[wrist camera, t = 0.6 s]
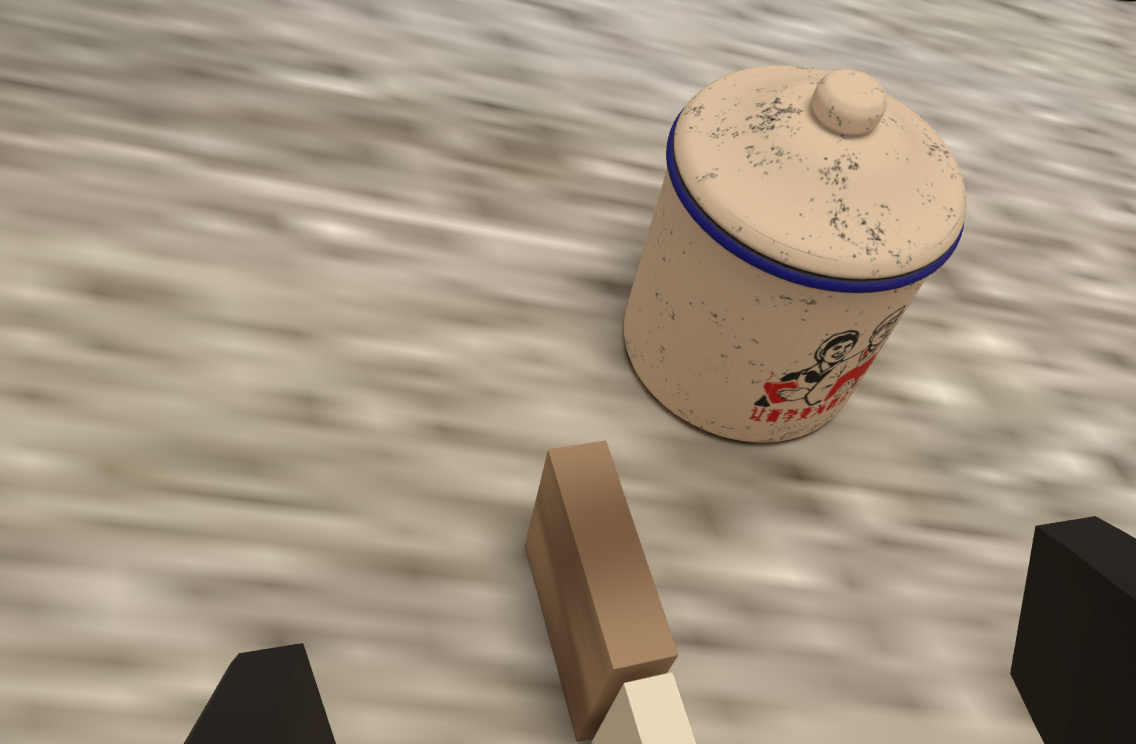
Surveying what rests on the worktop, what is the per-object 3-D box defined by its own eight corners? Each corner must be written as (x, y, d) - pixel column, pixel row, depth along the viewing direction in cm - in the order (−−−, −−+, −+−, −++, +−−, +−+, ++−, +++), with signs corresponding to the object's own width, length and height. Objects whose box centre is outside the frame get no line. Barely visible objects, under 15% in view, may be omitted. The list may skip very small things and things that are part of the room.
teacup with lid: (762, 503, 33) (910, 260, 23) (563, 335, 36) (624, 62, 26) (941, 321, 39) (1114, 72, 30) (758, 191, 42) (864, -71, 33)
